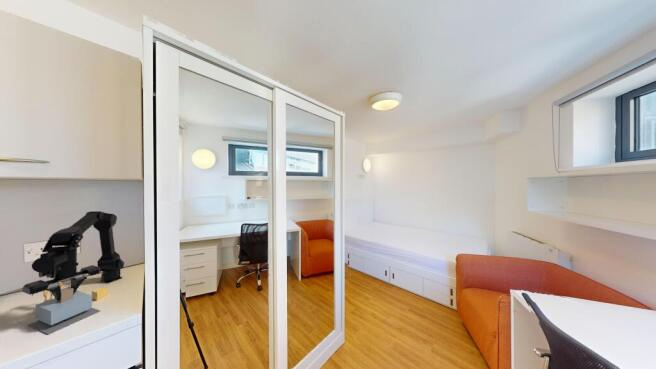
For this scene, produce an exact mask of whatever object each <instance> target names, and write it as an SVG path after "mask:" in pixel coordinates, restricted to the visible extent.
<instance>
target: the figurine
mask: <svg viewBox="0 0 656 369" xmlns="http://www.w3.org/2000/svg"><path fill="white" fill-rule="evenodd" d="M58 284H59V286H61V289H64V288H65V286H64V284H62V282H59V283H58ZM48 292H49V293H50V296H49V297H50V298H49V299H48V298H47V294H48ZM42 294H43V298H44V301H43V302H45V301H48V300H51V299H53V294H52V293H51V292H50V291H47V290H45V291H43V293H42ZM33 296H34V294H31V297H33Z"/></svg>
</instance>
